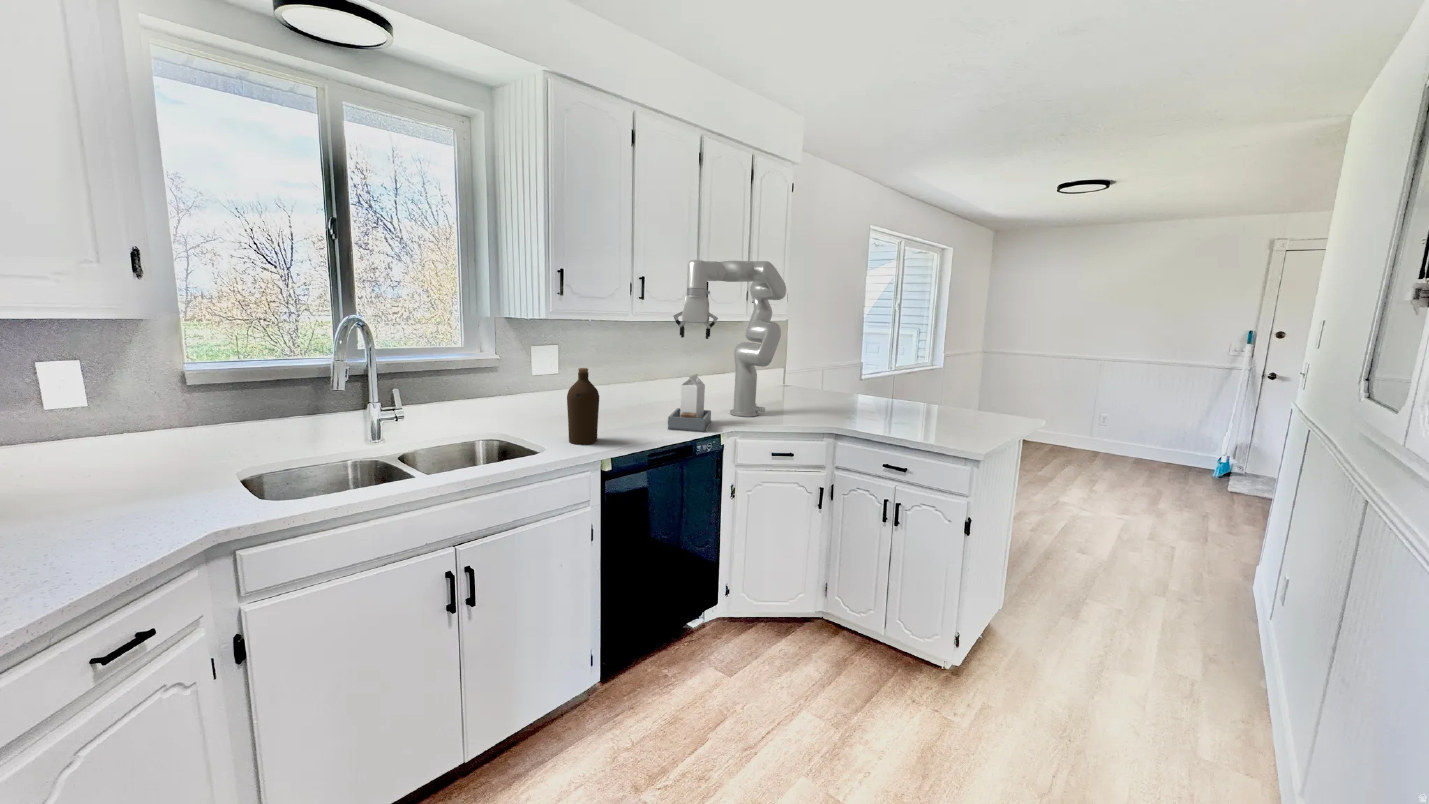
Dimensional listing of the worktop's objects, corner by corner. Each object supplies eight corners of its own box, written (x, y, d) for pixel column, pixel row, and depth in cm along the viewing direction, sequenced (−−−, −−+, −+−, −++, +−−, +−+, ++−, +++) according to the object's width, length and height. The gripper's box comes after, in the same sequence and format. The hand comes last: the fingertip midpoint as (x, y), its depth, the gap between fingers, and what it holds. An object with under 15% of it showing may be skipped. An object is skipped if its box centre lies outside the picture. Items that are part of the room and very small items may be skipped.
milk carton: (679, 422, 229) (681, 375, 225) (687, 419, 235) (689, 373, 232) (695, 424, 226) (697, 376, 222) (703, 421, 232) (705, 374, 229)
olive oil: (602, 444, 194) (602, 370, 189) (569, 446, 189) (569, 370, 185) (595, 436, 203) (595, 366, 199) (564, 438, 199) (564, 366, 195)
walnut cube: (695, 425, 225) (695, 412, 224) (693, 428, 220) (693, 415, 219) (682, 424, 225) (683, 412, 224) (680, 427, 220) (680, 414, 220)
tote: (710, 422, 235) (711, 410, 234) (704, 432, 218) (704, 419, 217) (676, 420, 237) (677, 408, 236) (667, 429, 219) (668, 416, 218)
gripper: (720, 294, 224) (717, 338, 227) (676, 292, 226) (674, 336, 229) (717, 294, 217) (715, 339, 220) (672, 292, 219) (671, 337, 222)
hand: (694, 338), depth 224 cm, fingers open, 9 cm apart
